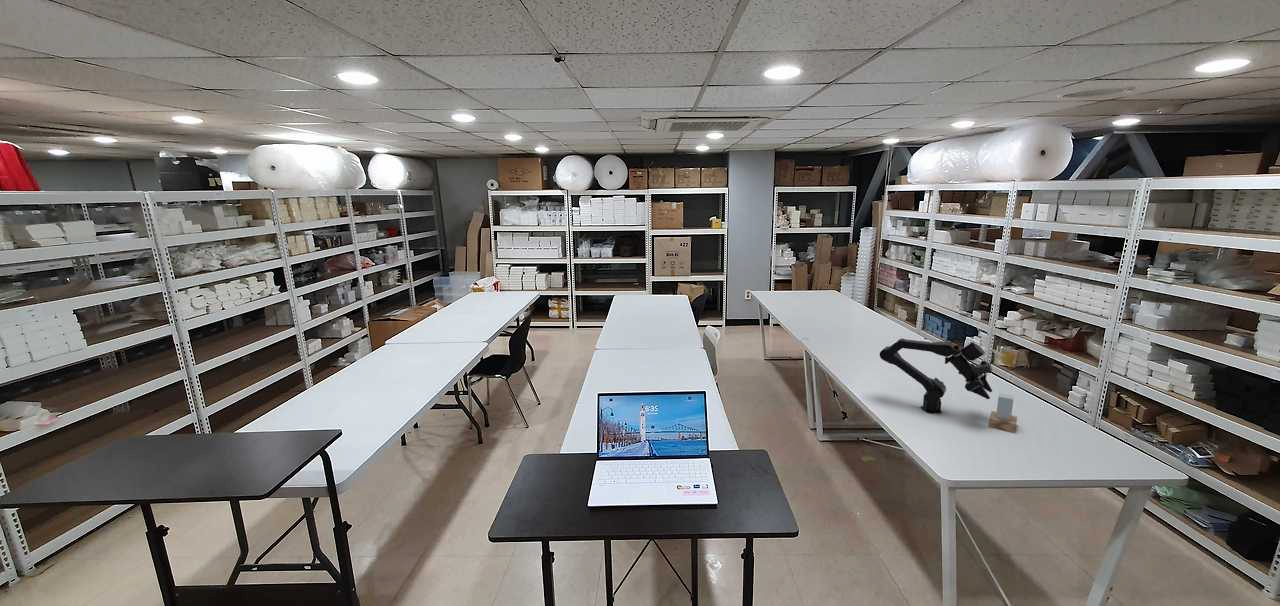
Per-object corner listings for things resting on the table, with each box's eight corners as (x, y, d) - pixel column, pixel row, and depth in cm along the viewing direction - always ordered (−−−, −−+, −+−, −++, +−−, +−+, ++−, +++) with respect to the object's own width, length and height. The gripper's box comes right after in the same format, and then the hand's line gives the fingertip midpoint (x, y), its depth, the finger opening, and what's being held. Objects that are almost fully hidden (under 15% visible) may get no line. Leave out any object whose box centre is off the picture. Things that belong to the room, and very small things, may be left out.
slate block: (995, 417, 204) (998, 396, 202) (996, 413, 207) (999, 392, 205) (1010, 421, 201) (1013, 399, 198) (1011, 416, 204) (1014, 395, 202)
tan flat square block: (988, 426, 204) (989, 418, 204) (990, 419, 211) (991, 411, 210) (1014, 432, 199) (1015, 424, 198) (1016, 424, 205) (1017, 416, 204)
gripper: (977, 362, 199) (1006, 393, 194) (982, 351, 212) (1010, 379, 207) (953, 376, 205) (980, 405, 201) (960, 363, 219) (986, 391, 214)
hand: (990, 395), depth 206 cm, fingers open, 9 cm apart
